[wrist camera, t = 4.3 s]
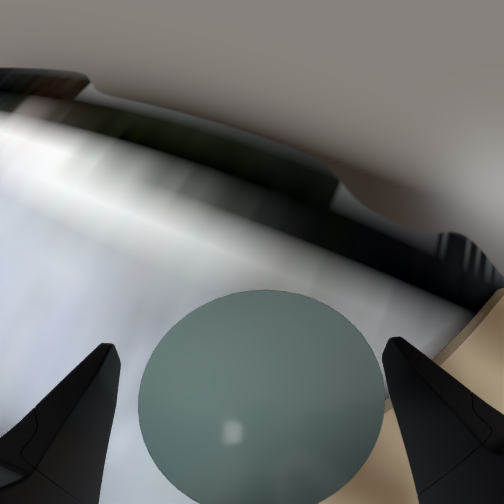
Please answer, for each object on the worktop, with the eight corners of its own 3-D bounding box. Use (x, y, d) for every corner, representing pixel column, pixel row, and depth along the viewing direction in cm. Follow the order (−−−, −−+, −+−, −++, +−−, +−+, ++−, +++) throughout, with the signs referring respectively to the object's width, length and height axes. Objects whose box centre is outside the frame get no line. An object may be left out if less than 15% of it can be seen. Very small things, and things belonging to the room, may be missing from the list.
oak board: (378, 595, 10) (384, 604, 9) (270, 473, 14) (273, 484, 13) (543, 443, 14) (553, 444, 13) (497, 289, 18) (510, 285, 16)
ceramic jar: (227, 437, 15) (222, 545, 5) (174, 350, 16) (95, 362, 6) (317, 386, 16) (417, 434, 6) (265, 299, 17) (310, 245, 7)
